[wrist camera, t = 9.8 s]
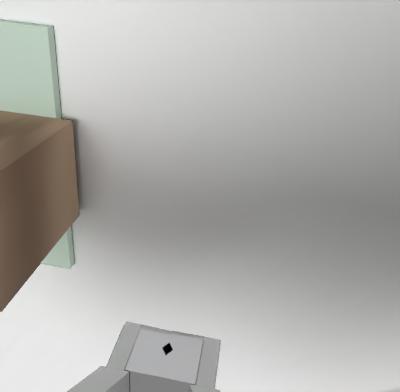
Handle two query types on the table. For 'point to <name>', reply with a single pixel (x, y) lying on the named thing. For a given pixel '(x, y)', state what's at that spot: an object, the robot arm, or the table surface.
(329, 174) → the table surface
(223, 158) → the table surface
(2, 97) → the green glass pane
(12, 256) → the walnut block
